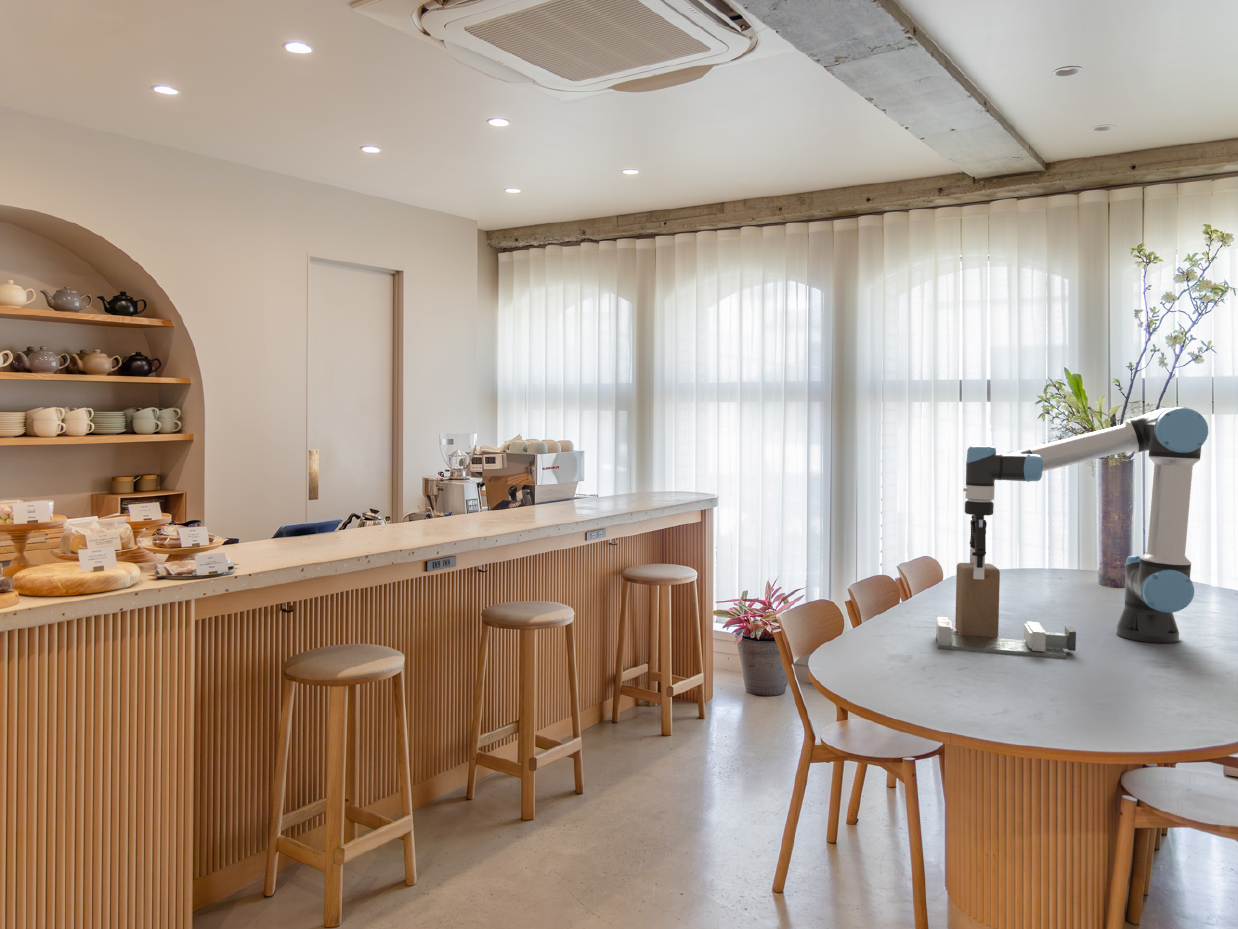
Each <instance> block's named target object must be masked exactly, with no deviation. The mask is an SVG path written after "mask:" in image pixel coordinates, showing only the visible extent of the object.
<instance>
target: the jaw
mask: <svg viewBox="0 0 1238 929" xmlns="http://www.w3.org/2000/svg"><path fill="white" fill-rule="evenodd" d="M1025 622H1026V623H1023V640H1025V641H1026V643H1027V644H1028V646H1029V648H1031V649H1032V651H1044V652H1045V648H1058V649H1063V650H1067V651H1071V652H1076V649H1077V648H1076V646H1077V638H1076V637H1077V632H1076V630H1075V629H1074V628H1073V626H1066V625H1065V626H1064V632H1055V631H1053V632H1051V631H1045V629H1044V628H1043V627H1042V626H1041V623H1040V622H1037V621H1025Z"/></svg>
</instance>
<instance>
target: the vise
mask: <svg viewBox="0 0 1238 929" xmlns="http://www.w3.org/2000/svg"><path fill="white" fill-rule="evenodd" d="M935 633H936V636H935V639H936V644H937V648H938V650H947V651H948V650H950V651H951V650H952V651H961V652H963V651H964V652H975V653H977V652H978V653H986V654H987V653H989V654H990V653H991V654H1001V655H1013V656H1014V655H1016V656H1025V657H1026V656H1028V657H1029V656H1030V657H1038V658H1039V657H1040V658H1041V657H1042V658H1052V659H1053V658H1054V659H1066V660H1067V659H1068V657H1067V656H1068V654H1067V653H1066V652H1065V649H1058V648H1045V652H1044V651H1032V649H1031V648H1029V646H1028V644H1027V643H1026V641H1025V639H1015V638H1014V639H1013V638H1011V639H1010V638H1000V637H997V638H987V637H974V636H961V635H960V634H953V633H954V626H953V623H952V620H951V619H949V616H948V617H947V616H936V632H935Z"/></svg>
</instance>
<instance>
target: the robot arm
mask: <svg viewBox="0 0 1238 929" xmlns="http://www.w3.org/2000/svg"><path fill="white" fill-rule="evenodd" d="M1208 436H1209V426H1208V422H1207V421H1206V419H1205V417H1203V415H1202V414H1201V413H1199V412H1198V411H1196V410H1194V409H1193V408H1189V407H1186V406H1185V407H1184V406H1171V407H1162V408H1159V409H1155V410H1153V411H1151V412H1148V413H1145V414H1142V415H1140V416H1137V417H1133V418H1128V419H1126V420H1125V421H1123V424H1121V425H1116V426H1113V427H1112V426H1111V427H1108V428H1105V429H1101V430H1096V431H1092V432H1088V433H1084V434H1080V435H1076V436H1073V437H1069V438H1064V439H1061V440H1057V441H1052V442H1048V443H1045V444H1040V445H1038V446H1037V445H1036V446H1033V447H1029V448H1025V449H1021V450H1017V451H1010V452H1009V451H1008V452H1006V453H998V452H997V450H996V447H995V446H991V445H990V446H989V445H987V446H986V445H972V446H969V447H968V448H967V452H966V461H965V462H966V464H965V488H963V489H962V490H963V492H964V493H965V495H964V496H965V497H964V498H965V499H966V500H965V502H964V513H965V514H966V515H970V516H971V520H970V522H969V523H970V538H969V546H970V548H969V563H974V574H973V579H983V580H984V568H985V564H986V562H985V560H986V554H987V551H986V549H987V548H986V546H987V544H986V534H987V526H988V525H987V520H986V519H985V516H992V515H993V514H994V504H995V503H994V500H995V482H996V481H1012V482H1013V481H1014V482H1027V483H1029V482H1039V481H1041V479H1042V476H1043V472H1047V471H1050V470H1054V469H1059V468H1062V467H1067V466H1071V465H1075V464H1076V465H1077V464H1080V463H1084V462H1089V461H1092V460H1097V459H1101V458H1105V457H1109V456H1113V455H1118V454H1121V453H1122V454H1123V453H1125V452H1130V451H1132V452H1133V453H1135V454H1137V453H1141V452H1146V451H1148V458H1149V459H1150V460H1151V461H1152V462H1153V465H1154V466H1153V467H1154V468H1153V476H1152V477H1153V479H1152V490H1151V501H1150V504H1151V505H1150V514H1149V524H1148V526H1149V527H1148V538H1147V550H1146V552H1145V553H1144V554H1142V555H1129V556H1127V557H1126V561H1125V565H1124V568H1125V573H1124V574H1125V575H1124V577H1125V580H1124V607H1123V610H1122V612H1121V615H1120V618H1119V620H1118V621H1117V625H1116V635H1118V636H1119V637H1123V638H1125V639H1129V640H1133V641H1138V642H1146V643H1156V644H1169V643H1177V642H1179V640H1180V631H1179V628H1178V625H1177V622H1176V619H1175V616H1174V613H1178V612H1180V611H1183V610H1184V609H1185V608H1187V607H1188V606H1189V605H1190V604H1191V603H1192V601H1193V599H1194V597H1195V586H1194V584H1193V583H1194V582H1193V581H1192V580H1191V570H1192V562H1191V561H1190V560H1189V559H1188V558H1187V556H1186V549H1187V535H1188V524H1189V515H1190V514H1189V511H1190V501H1191V489H1192V488H1191V487H1192V478H1193V467H1194V465H1196V463H1198V462H1199V461H1201V456H1202V455H1201V454H1202V447H1203V445H1204V444H1205V443H1206V440H1207V439H1208Z"/></svg>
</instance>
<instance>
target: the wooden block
mask: <svg viewBox="0 0 1238 929" xmlns="http://www.w3.org/2000/svg"><path fill="white" fill-rule="evenodd" d="M973 574H974V563H970V562H959V563H957V565H956V576H955V577H956V580H955V582H956V583H955V584H956V585H955V621H954V622H955V630H956V631H957V633H958V635H960V636H974V637H987V638H999V626H1000V623H999V621H1000V619H999V618H1000V616H999V615H1000V584H1001V583H1000V581H1001V579H1000V578H1001V577H1000V576H1001V571H1000V569H999V568H997V567H996V566H995V565H994V564H991V563H985V568H984V580H983V579H973Z"/></svg>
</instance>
